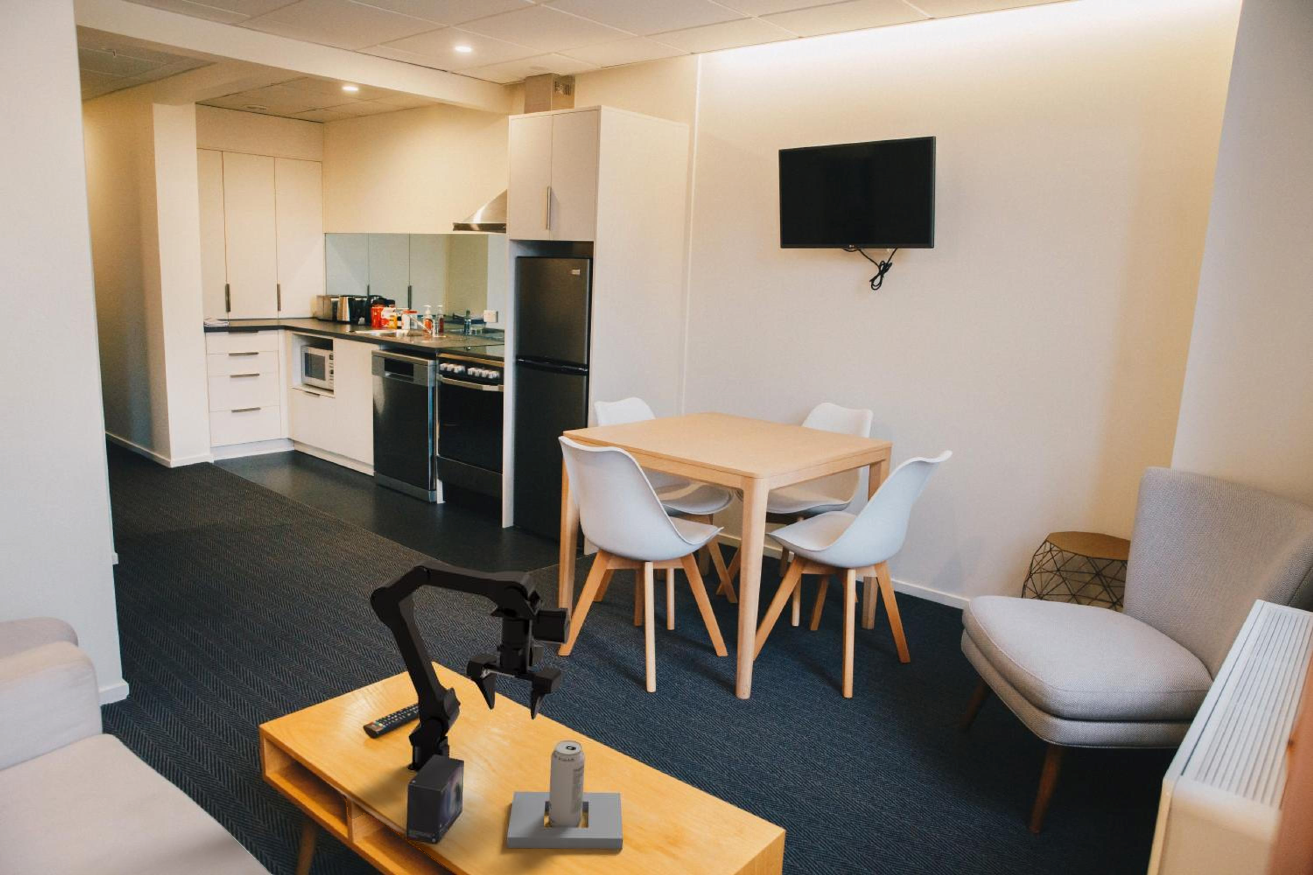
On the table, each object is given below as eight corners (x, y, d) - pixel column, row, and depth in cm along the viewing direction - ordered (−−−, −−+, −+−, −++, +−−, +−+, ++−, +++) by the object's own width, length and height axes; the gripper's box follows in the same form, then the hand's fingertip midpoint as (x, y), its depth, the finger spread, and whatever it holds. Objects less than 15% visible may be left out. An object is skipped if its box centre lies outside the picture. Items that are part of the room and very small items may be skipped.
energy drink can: (557, 810, 162) (560, 735, 160) (586, 818, 161) (590, 742, 158) (542, 828, 157) (545, 751, 154) (573, 836, 155) (577, 758, 153)
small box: (439, 845, 150) (440, 790, 149) (404, 839, 152) (405, 783, 150) (464, 811, 161) (466, 758, 159) (431, 805, 162) (432, 752, 160)
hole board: (506, 847, 151) (507, 837, 151) (513, 800, 165) (514, 791, 164) (622, 848, 153) (623, 838, 152) (619, 802, 166) (620, 792, 166)
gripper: (576, 632, 173) (573, 706, 176) (494, 616, 179) (491, 687, 182) (551, 653, 163) (548, 731, 165) (464, 634, 169) (462, 710, 171)
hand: (512, 713), depth 171 cm, fingers open, 9 cm apart
